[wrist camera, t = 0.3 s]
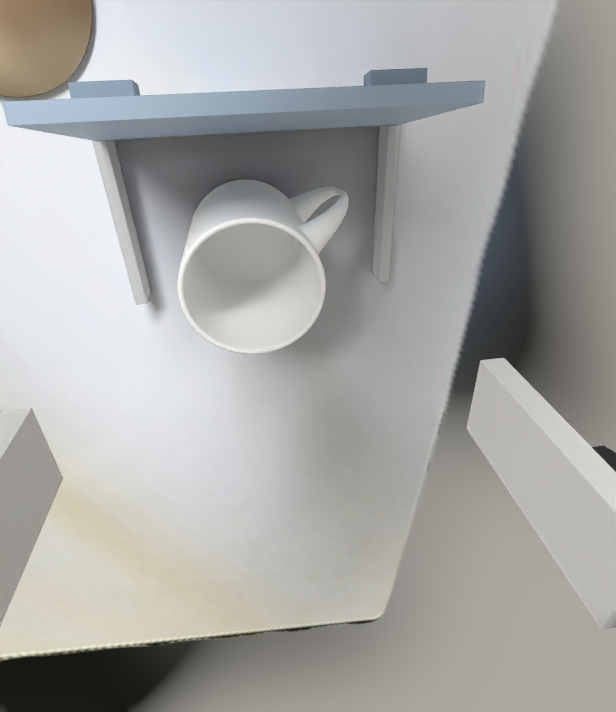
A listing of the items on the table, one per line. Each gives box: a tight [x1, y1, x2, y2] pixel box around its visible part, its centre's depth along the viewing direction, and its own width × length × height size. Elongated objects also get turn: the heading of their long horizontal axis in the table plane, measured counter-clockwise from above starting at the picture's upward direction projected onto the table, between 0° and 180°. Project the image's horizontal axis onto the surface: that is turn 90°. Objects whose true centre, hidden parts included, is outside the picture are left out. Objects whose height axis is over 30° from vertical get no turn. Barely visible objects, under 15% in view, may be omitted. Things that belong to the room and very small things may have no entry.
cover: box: [2, 68, 485, 142], centre depth 23 cm, size 12×19×1 cm
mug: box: [178, 180, 349, 354], centre depth 30 cm, size 9×12×11 cm
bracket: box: [92, 124, 400, 305], centre depth 33 cm, size 13×20×2 cm, turn 92°
